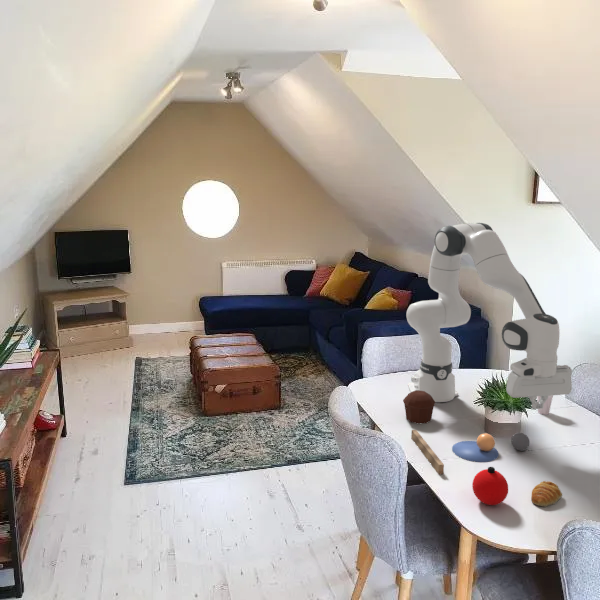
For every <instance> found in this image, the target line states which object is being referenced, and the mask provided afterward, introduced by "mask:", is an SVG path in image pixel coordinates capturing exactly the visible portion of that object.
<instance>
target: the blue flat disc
mask: <svg viewBox="0 0 600 600" xmlns="http://www.w3.org/2000/svg"><path fill="white" fill-rule="evenodd" d="M451 448H452V452H453V454H454V453H455V454H454V455H455V456H457V457H458V456H459V458H460V457H461V459H463V460H465V459H466V461H470V462H474V461H475V463H488V462H492V461H495V460H496V459H497V458H498V457H499V451H498V450H497V448H496V447H494V448H493V449H492V450H490V451H483V450H481V449H480V448H479V447H478V445H477V440H463V441H458V442H456V443H455V444H453V445H452V447H451Z"/></svg>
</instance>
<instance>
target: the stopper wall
mask: <svg viewBox="0 0 600 600" xmlns="http://www.w3.org/2000/svg"><path fill="white" fill-rule="evenodd" d="M410 437H411V440H412V441H413V442H415V443H414V444H415V445H416V447H417V446H418V447H417V448H418V450H421V451H420V452H421V453H422V455H423V456H424V457H425V459H426V460H427V459H428V460H427V461H428V462H429V464H430V463H431V464H430V466H432V468H433V469H434V470H435V472H436V474H438V475H444V467H445V464H444V463H443V462H442V460H441V459H440V458H439V456H438V455H437V454H436V453H435V451H433V449H432V447H430V445H429V444H428V443H427V442H426V440H425V439H424V438H423V436H422V435H421V433H420V432H419V431H418V430H417V429H411V435H410Z"/></svg>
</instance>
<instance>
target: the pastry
mask: <svg viewBox="0 0 600 600" xmlns="http://www.w3.org/2000/svg"><path fill="white" fill-rule="evenodd" d="M562 497H563V493H562V492H561V489H560V488H559V486H558V485H557V483H555V482H553V481H548V480H547V481H546V480H543V481H541V482H540V483H539V484H536V485H535V486H534V487H533V489H532V490H531V502H532V504H533V505H536V506H539V507H543V508H544V507H545V508H546V507H548V506H551V505H552V506H553V505H555V504H556V503H557V502H558V501H559V500H560V499H561V498H562Z"/></svg>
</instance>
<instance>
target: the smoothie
mask: <svg viewBox="0 0 600 600" xmlns="http://www.w3.org/2000/svg"><path fill="white" fill-rule="evenodd" d="M553 397H554V395H550V396H548V399H547V400H546V402H545V403H544V406H543V409H537V412H538V413H539V414H540V415H544V416H545V415H546V416H547V415H549V414H550V411H551V406H552V401H553ZM540 398H541V396H537V399H536V400H537V401H536V402H539V400H540Z"/></svg>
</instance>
